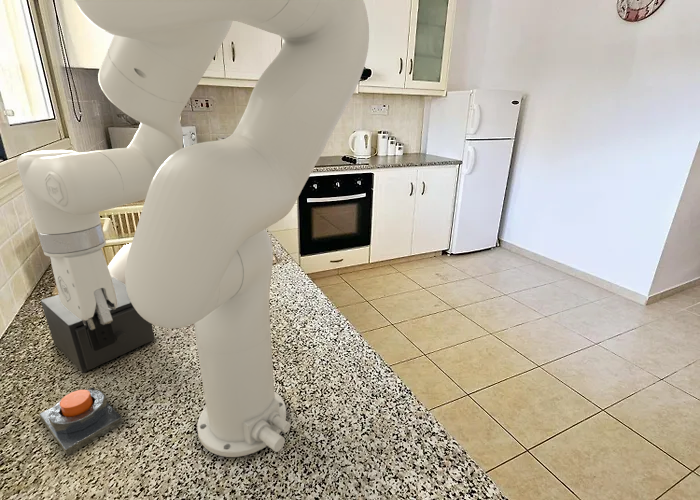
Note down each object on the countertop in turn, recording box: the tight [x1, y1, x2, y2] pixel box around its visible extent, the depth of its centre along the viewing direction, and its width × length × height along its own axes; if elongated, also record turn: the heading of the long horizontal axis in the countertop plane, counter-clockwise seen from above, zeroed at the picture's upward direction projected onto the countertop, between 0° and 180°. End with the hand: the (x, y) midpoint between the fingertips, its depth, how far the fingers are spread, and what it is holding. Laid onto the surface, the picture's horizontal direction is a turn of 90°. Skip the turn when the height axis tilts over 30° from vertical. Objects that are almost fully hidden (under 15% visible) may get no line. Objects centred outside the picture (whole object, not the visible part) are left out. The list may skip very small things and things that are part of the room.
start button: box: [59, 389, 93, 417], centre depth 53 cm, size 4×4×2 cm
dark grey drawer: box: [75, 306, 155, 371], centre depth 70 cm, size 14×11×8 cm
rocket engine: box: [107, 242, 132, 284], centre depth 88 cm, size 12×12×18 cm
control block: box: [39, 386, 124, 457], centre depth 54 cm, size 10×7×3 cm
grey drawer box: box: [40, 278, 155, 374], centre depth 71 cm, size 14×13×10 cm
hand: (103, 345), depth 61 cm, fingers closed
